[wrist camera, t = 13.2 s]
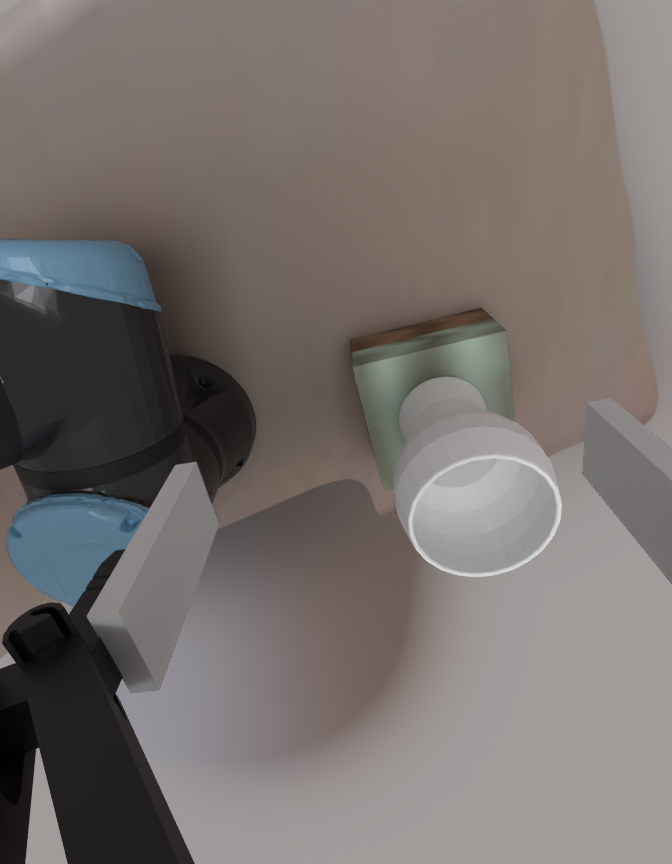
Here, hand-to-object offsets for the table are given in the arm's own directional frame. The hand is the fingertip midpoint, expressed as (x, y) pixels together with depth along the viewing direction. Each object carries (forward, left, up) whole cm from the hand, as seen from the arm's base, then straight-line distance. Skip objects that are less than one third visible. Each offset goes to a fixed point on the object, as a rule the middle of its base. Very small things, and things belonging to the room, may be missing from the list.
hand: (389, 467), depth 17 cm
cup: (+5, -12, -26) cm, 28 cm away
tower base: (+4, -12, -34) cm, 36 cm away
